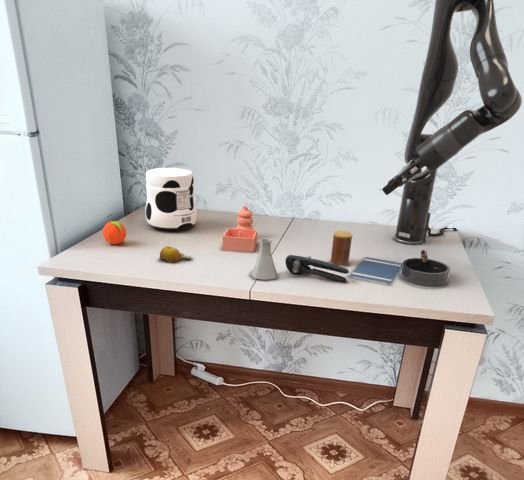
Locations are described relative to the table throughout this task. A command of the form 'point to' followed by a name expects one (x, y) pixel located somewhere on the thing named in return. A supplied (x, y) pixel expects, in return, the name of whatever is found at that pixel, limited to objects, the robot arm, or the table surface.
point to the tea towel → (376, 270)
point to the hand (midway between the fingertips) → (386, 188)
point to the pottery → (241, 233)
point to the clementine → (114, 232)
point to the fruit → (171, 254)
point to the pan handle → (424, 255)
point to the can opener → (300, 267)
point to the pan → (425, 272)
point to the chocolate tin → (341, 248)
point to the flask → (264, 262)
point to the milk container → (170, 198)
